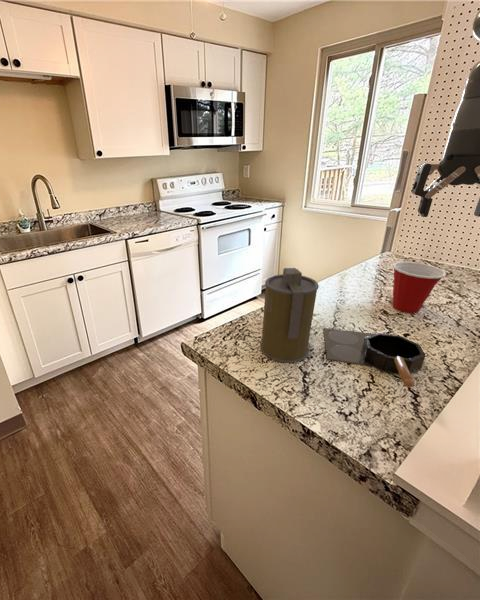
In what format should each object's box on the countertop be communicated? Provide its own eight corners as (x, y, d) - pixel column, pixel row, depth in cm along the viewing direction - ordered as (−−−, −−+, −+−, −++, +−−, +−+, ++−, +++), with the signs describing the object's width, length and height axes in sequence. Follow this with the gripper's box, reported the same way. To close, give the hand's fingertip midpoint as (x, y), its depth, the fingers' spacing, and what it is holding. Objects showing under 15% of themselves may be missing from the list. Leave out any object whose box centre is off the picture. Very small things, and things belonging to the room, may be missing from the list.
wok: (411, 350, 69) (416, 335, 67) (439, 405, 55) (446, 387, 53) (359, 343, 73) (363, 329, 71) (373, 393, 59) (378, 376, 57)
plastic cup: (433, 321, 79) (449, 277, 73) (381, 312, 85) (392, 271, 80) (431, 304, 86) (445, 263, 81) (383, 297, 92) (393, 258, 87)
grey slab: (399, 337, 74) (400, 336, 74) (417, 373, 63) (417, 372, 62) (323, 328, 80) (323, 327, 80) (327, 359, 69) (327, 358, 69)
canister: (256, 337, 79) (262, 264, 71) (300, 337, 77) (311, 262, 69) (264, 363, 70) (272, 282, 61) (314, 364, 68) (329, 280, 59)
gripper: (436, 130, 56) (411, 220, 63) (549, 119, 50) (508, 219, 57) (423, 131, 62) (402, 213, 69) (522, 121, 56) (488, 212, 63)
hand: (450, 216), depth 63 cm, fingers open, 8 cm apart
